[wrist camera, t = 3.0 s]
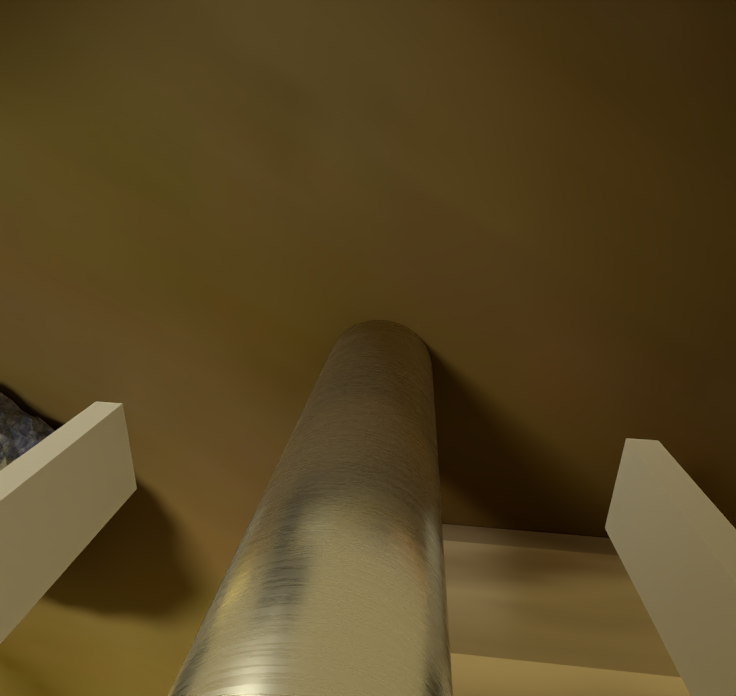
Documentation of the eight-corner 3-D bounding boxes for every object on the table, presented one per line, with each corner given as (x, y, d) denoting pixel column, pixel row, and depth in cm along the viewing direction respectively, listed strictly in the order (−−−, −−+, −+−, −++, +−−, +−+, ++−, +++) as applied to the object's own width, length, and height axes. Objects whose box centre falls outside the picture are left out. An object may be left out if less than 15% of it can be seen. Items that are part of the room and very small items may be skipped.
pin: (328, 317, 18) (-64, 972, 3) (436, 322, 18) (515, 1072, 3) (329, 412, 20) (52, 1169, 5) (428, 419, 19) (459, 1255, 5)
